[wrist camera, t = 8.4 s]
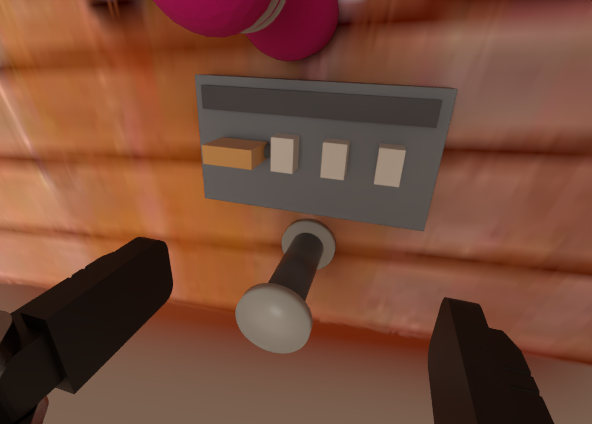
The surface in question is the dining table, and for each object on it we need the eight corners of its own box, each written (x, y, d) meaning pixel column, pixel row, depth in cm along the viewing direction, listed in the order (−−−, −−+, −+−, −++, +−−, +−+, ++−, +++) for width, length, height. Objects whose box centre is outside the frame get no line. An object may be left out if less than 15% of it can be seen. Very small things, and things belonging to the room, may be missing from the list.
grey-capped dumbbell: (338, 223, 34) (312, 300, 22) (333, 269, 36) (307, 361, 25) (284, 214, 35) (234, 284, 23) (283, 260, 37) (236, 342, 26)
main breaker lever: (272, 141, 28) (255, 150, 25) (272, 158, 29) (256, 170, 26) (220, 136, 30) (197, 144, 26) (221, 152, 30) (198, 163, 27)
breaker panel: (450, 87, 26) (463, 90, 22) (420, 217, 31) (426, 241, 27) (211, 74, 31) (181, 74, 26) (218, 188, 36) (194, 205, 31)
